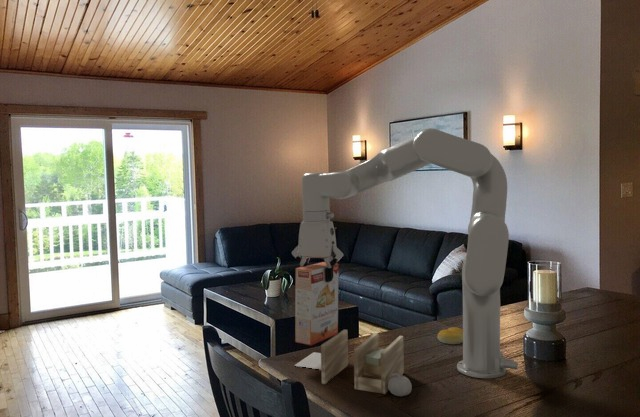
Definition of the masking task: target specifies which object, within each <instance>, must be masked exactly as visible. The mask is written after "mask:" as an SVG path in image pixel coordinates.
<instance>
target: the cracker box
mask: <svg viewBox="0 0 640 417" xmlns="http://www.w3.org/2000/svg"><path fill="white" fill-rule="evenodd" d="M339 267H340V266H339V263H338V262H337V263H336V264H335V266H334V267H333V279H332V281H330V282H326V281H325V268H327V265H326V263H325V261H322V262H317V263H314V264H308V266H304V267H301V266H299V267H295V289H294V290H295V295H294V296H295V298H294V299H295V300H294V301H295V304H294V305H295V308H294V309H295V310H294V312H295V316H294V317H295V318H294V323H295V327H294V329H295V330H294V331H295V332H294V333H295V334H294V336H295V338H294V342H295V343H297V344H303V345H306V346H313V345H315V344H317V343H320V342H323V341H325V340H326V339H327V340H328V339H329V338H332V337H334V336H335V335H337V334H338V333H339Z"/></svg>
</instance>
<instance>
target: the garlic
mask: <svg viewBox="0 0 640 417" xmlns="http://www.w3.org/2000/svg"><path fill="white" fill-rule="evenodd" d="M395 375H396V376H395ZM392 376H393V377H391V378H390V380H389V382H388V389H389V390H388V391H389V392H390V393H391V394H392V395H394V396H396V397H405V396H408V395H410V393H411V392H412V389H413V388H412V387H413V385H412V383H411V381H410V379H409V378H408V377H407V376H406V375H403V374H402V375H399V374H398V373H394V374H392Z"/></svg>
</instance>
